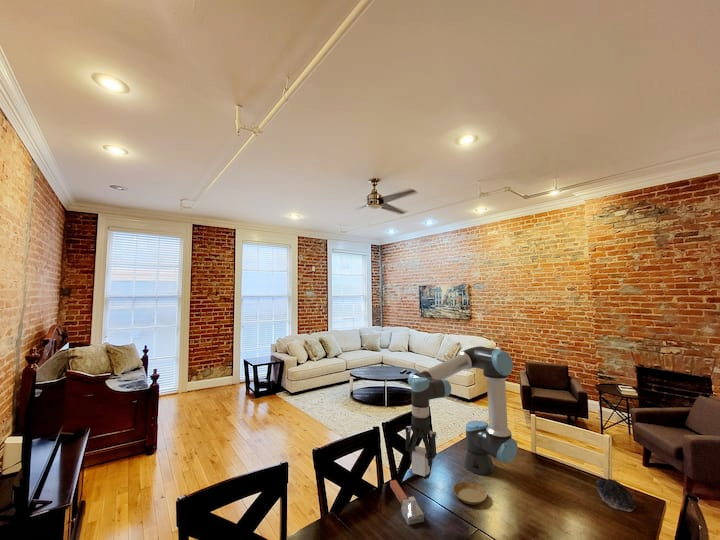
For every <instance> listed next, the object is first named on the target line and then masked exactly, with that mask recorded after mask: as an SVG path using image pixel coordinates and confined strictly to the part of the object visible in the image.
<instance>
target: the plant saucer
mask: <svg viewBox="0 0 720 540" xmlns="http://www.w3.org/2000/svg"><path fill="white" fill-rule="evenodd" d="M452 491H453V493H454V494H455V496H456V498H457V499H458V500H460V501H461V502H463V503H465V504H466V505H467V504H468V505H472V506H473V505H479V504H481V503H483V502H484V501H485V500H486V499H487V497H488V494H487V491H486V489H485V488H483V487H482V486H481V485H479V484H477V483H474V482H470V481H460V482H456V483H455V484H454V485H453V487H452Z"/></svg>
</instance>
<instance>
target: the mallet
mask: <svg viewBox="0 0 720 540" xmlns="http://www.w3.org/2000/svg"><path fill="white" fill-rule="evenodd" d="M389 485H390V488H391V490H392V492H393V493H394V495H395V496H396V498H397V500H398V502H399V504H400V505H401V507H400V508H401V515H402V516H403V518H404V520H405V522H406V524H407V525H408V526H409V525H414V524H415V525H416V524H418V523H422V522H425V516H424V515H425V514H424V512H423V511H422V509H421V508H420V505H419V504H418V503H417V499H416V498H415V496H409V497H407V495H406V493H405V491H404V490H403V489H402V487H401V486H400V484H399V482H398V481H397V479H394V480H390V481H389Z"/></svg>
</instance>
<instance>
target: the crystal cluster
mask: <svg viewBox="0 0 720 540" xmlns="http://www.w3.org/2000/svg"><path fill="white" fill-rule="evenodd" d="M595 485H596V488H597V492H598V494H599V497H600V498H601V497H602V498H601V500H602V501H603V502H604V503H605V504H606V505H607V506H609V507H610V508H612V509H615V510H620V511H623V512H629V513H630V512H631V513H632V512H633V511H634V510H635V509H636V503H635V501H634V498H633V495H632V494H631V492H630V491H629V490H628V488H626V487H625V486H624V485H623V484H622V483H620V482H619V481H617V480H616V479H611V478H607V479H606V480H604V479H602V478H599V479H597V480H596V482H595Z"/></svg>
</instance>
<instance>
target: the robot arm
mask: <svg viewBox="0 0 720 540" xmlns="http://www.w3.org/2000/svg"><path fill="white" fill-rule="evenodd" d="M513 368H514V363H513V359H512V357H511V355H510V354H509V352H507V351H505V350H501V349H499V348H491V347H488V346H487V347H486V346H474V347H470V348H467V349H465V350H461V351H460V352H458V353H457V356H456V355H455V356H453V357H452V358H449V359H447V360H445V361H443V362H441V363H438V364H437V365H434V366H432V367H430V368H428V369H425V370H423V371H421V372H417V371H416V372H415V371H412V372H411V373H410V374H409V375H408V378H407V383H408V386H410V387H411V389H410V391H411V414H412V415H411V425H407V426H405V427H404V430H405V451H406V452H409V461H410V462H412V451H413V450H414V449H415V447H416V446H417V445H416V444H417V441H418V439H421V440H422V441H423V444H424V448H425V449H426V452H427V458H426V476H428V475H429V474H430V472H431V469H430V468H431V466H432V464H433V459H435V458H436V456H437V442H436V440H437V439H436V437H437V431H433V430H432V429H431V428H430V400H431V401H432V400H436V399H441V398H443V399H444V398H446V397H448V396H450V395H451V393H452V386H451V384H450V381H448V380H447V379H448V378H450V377H452V376H454V375H456V374H458V373H460V372H463V371H464V370H467V371H468V370H469V371H470V370H471V369H478V370H479V369H480V370H483V374H482V375H483V377H485V379H486V388H487V390H486V391H487V405H488V408H487V409H488V422H487V421H483V420H470V421H468V422H467V423H466V424H465V444H466V450H465V454H464V458H463V467H464V468H465V470H467V471H469V472H470V473H473V474H476V475H486V476H487V475H490V474H492V473H493V472H494V461H493V460H492V457H493V458H495V459H497V460H498V461H500V462H503V463H506V464H507V463H510V462H512V461H513V460H514V459H515V457H516V456H517V453H518V442H517V441H516V440H515V439H514V438H513V437H512V430H510V428H509V427H508V424H509V423H508V412H507V411H508V410H507V409H508V408H507V406H508V405H507V389H506V380H507V379H509V375H511V373H512V372H513V371H512V370H513ZM411 431H412V432H411ZM411 433H412V434H413V436H412V442H411ZM428 435H429V437H430V441H429V437H428ZM430 443H431V445H430Z"/></svg>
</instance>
